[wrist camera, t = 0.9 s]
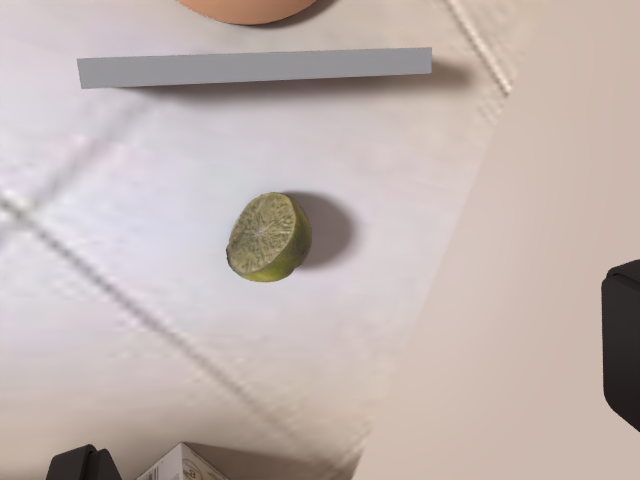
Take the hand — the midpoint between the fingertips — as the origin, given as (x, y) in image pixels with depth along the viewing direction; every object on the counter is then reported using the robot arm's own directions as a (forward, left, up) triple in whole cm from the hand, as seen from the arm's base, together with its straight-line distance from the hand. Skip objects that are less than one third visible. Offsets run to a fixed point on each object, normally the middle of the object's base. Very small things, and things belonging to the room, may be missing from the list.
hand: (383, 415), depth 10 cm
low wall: (+6, -2, -23) cm, 24 cm away
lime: (-3, -2, -23) cm, 23 cm away
